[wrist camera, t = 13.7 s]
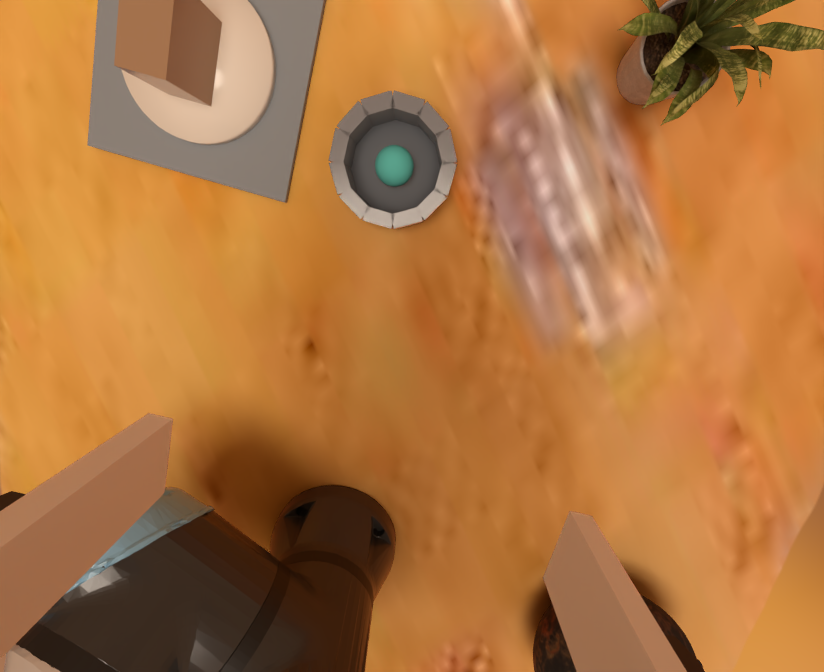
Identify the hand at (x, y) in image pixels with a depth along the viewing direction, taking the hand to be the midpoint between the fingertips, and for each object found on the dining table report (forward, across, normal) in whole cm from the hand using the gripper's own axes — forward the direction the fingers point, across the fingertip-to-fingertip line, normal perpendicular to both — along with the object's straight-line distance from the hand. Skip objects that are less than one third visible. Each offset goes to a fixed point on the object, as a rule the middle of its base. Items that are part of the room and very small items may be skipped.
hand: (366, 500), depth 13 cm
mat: (+32, +24, -19) cm, 44 cm away
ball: (+31, +4, -14) cm, 34 cm away
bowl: (+32, +4, -14) cm, 35 cm away
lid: (+32, +24, -19) cm, 44 cm away
